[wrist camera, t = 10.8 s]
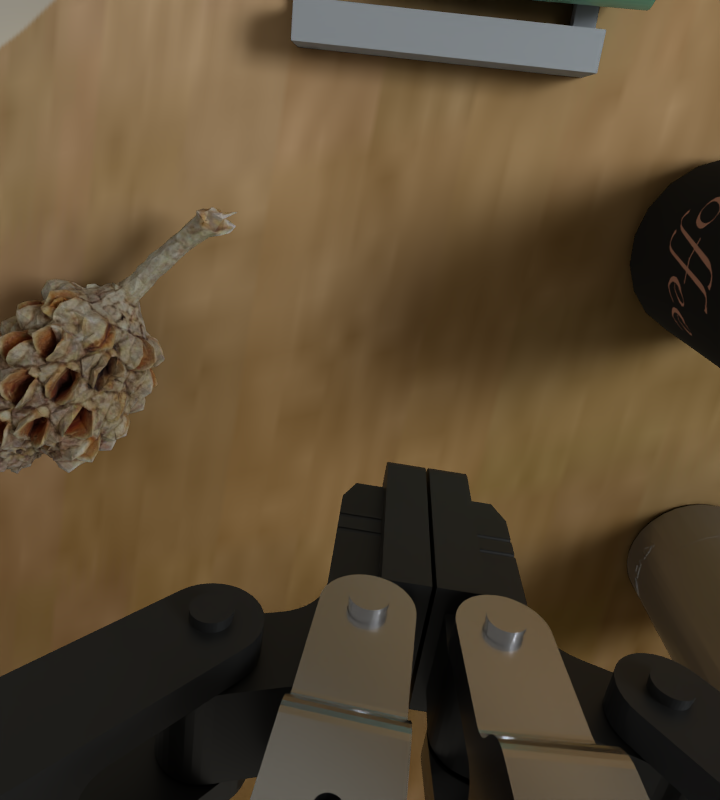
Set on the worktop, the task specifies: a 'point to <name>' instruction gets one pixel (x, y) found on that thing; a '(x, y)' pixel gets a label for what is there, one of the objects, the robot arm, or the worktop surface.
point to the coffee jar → (683, 260)
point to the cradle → (451, 36)
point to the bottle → (610, 3)
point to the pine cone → (84, 359)
